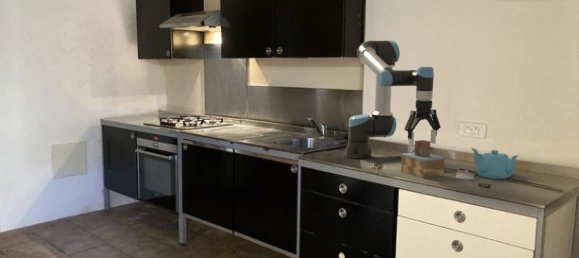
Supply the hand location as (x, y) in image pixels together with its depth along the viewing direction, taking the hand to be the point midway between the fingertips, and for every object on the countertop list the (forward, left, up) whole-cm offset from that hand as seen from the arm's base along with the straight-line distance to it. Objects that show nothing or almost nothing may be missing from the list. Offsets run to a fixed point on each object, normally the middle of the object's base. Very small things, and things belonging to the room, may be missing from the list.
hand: (422, 144), depth 232 cm
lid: (0, 0, -6) cm, 6 cm away
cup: (-10, +12, -14) cm, 21 cm away
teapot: (+19, +26, -14) cm, 35 cm away
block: (+1, 0, -5) cm, 5 cm away
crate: (0, 0, -14) cm, 14 cm away
